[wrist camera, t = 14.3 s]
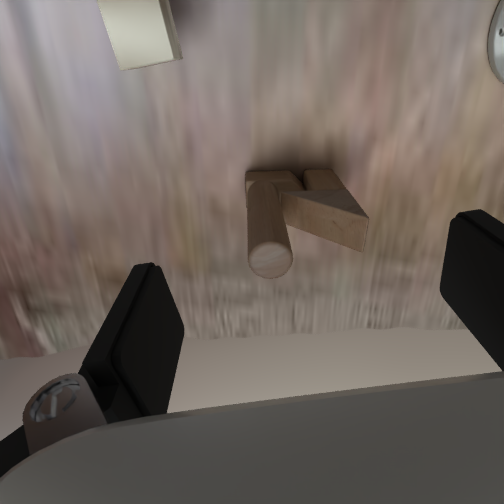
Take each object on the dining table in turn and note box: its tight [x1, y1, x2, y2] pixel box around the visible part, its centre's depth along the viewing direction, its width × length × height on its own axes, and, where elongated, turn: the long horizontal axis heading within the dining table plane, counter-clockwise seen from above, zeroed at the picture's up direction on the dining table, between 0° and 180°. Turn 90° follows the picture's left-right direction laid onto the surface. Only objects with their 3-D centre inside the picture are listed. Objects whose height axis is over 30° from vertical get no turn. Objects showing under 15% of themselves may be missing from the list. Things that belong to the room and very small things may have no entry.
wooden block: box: [245, 169, 369, 279], centre depth 33 cm, size 4×11×18 cm, turn 92°
